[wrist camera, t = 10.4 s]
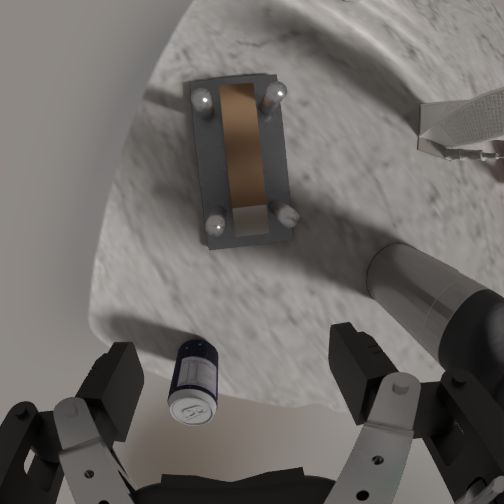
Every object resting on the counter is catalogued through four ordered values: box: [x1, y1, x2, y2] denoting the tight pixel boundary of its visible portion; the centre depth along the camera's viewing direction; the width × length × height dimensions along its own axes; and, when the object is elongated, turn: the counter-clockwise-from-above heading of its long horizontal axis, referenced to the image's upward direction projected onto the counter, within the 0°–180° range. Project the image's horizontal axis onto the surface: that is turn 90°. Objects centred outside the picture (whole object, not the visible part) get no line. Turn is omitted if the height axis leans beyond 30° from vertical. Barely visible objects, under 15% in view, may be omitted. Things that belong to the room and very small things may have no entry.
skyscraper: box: [418, 87, 504, 161], centre depth 20 cm, size 8×8×28 cm
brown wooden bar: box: [219, 83, 269, 237], centre depth 30 cm, size 16×4×4 cm, turn 6°
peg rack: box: [190, 74, 300, 250], centre depth 29 cm, size 10×20×8 cm, turn 6°
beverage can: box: [168, 340, 218, 426], centre depth 33 cm, size 6×6×12 cm
